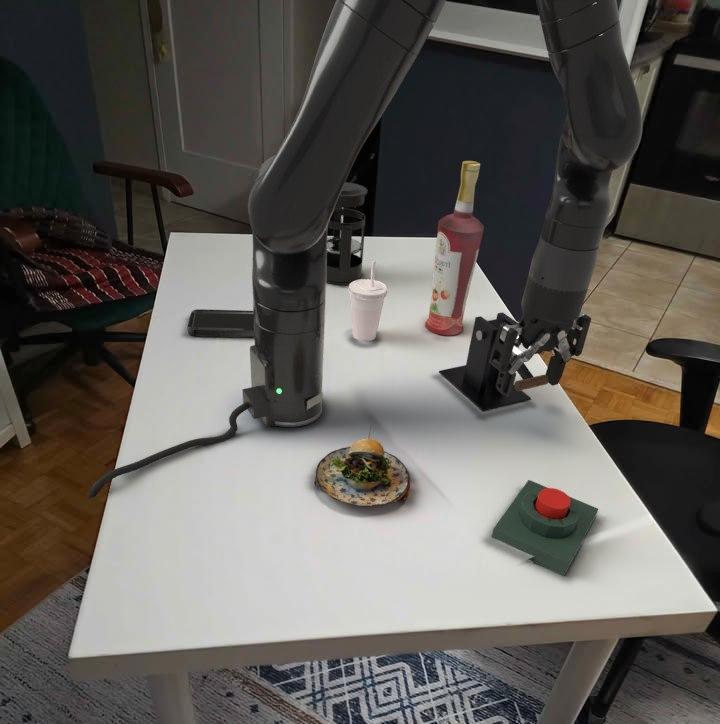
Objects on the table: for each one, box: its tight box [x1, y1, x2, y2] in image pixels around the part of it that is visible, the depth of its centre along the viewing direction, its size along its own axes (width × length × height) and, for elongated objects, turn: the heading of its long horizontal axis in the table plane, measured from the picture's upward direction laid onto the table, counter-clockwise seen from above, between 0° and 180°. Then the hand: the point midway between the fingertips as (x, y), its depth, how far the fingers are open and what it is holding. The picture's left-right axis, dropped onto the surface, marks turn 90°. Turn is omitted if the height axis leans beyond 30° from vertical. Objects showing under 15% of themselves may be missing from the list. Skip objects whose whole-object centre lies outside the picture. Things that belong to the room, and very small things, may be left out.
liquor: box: [424, 160, 485, 337], centre depth 107 cm, size 7×7×28 cm
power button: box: [535, 487, 570, 520], centre depth 74 cm, size 4×4×2 cm
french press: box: [326, 181, 368, 286], centre depth 124 cm, size 12×9×23 cm
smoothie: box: [347, 259, 388, 342], centre depth 106 cm, size 6×6×14 cm
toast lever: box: [487, 319, 549, 391], centre depth 93 cm, size 12×5×2 cm, turn 27°
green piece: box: [491, 479, 599, 577], centre depth 76 cm, size 11×9×4 cm
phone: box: [187, 308, 254, 338], centre depth 111 cm, size 8×1×15 cm
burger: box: [313, 425, 412, 507], centre depth 79 cm, size 12×12×8 cm
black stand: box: [438, 312, 532, 413], centre depth 97 cm, size 12×9×12 cm
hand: (527, 387), depth 91 cm, fingers open, 8 cm apart
